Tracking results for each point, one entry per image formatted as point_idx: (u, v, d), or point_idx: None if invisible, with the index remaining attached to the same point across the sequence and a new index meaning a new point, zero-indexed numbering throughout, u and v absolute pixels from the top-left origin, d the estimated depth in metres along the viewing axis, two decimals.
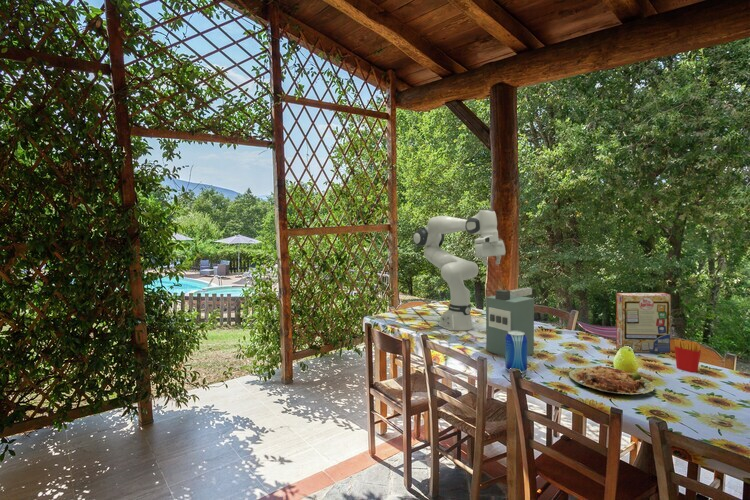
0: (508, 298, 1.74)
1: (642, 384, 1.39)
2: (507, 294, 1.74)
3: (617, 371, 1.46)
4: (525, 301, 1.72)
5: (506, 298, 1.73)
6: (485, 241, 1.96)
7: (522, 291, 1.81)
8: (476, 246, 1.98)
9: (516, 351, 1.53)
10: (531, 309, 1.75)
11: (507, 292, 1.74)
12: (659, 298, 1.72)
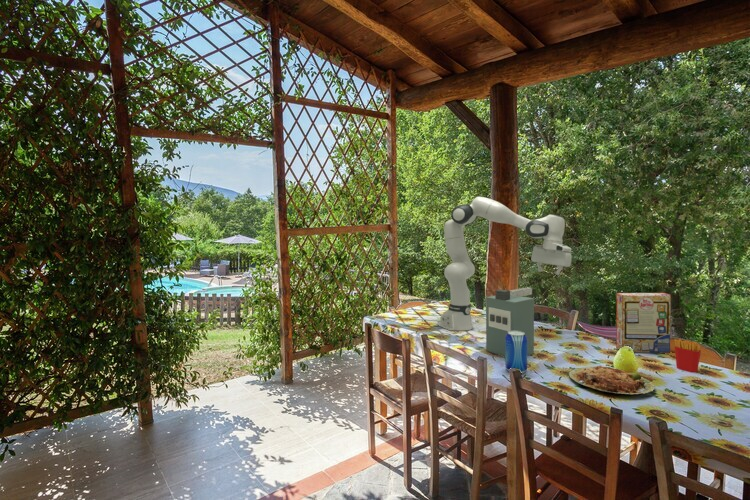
0: (508, 298, 1.74)
1: (642, 384, 1.39)
2: (507, 294, 1.74)
3: (617, 371, 1.46)
4: (525, 301, 1.72)
5: (506, 298, 1.73)
6: None
7: (522, 291, 1.81)
8: (567, 255, 1.87)
9: (516, 351, 1.53)
10: (531, 309, 1.75)
11: (507, 292, 1.74)
12: (659, 298, 1.72)
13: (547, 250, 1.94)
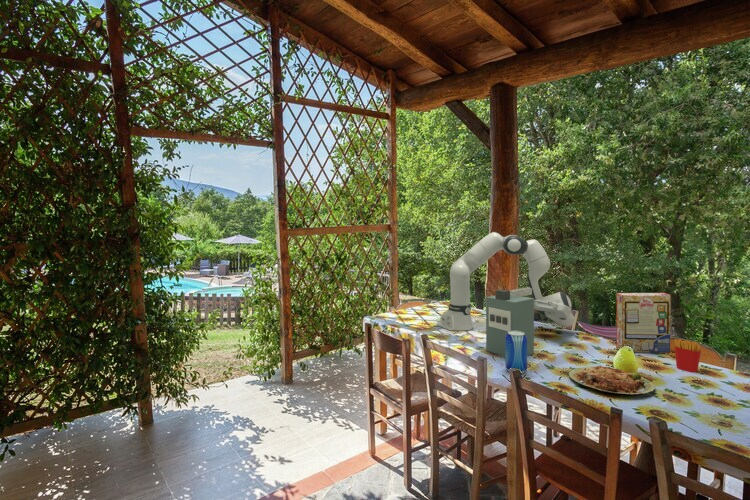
0: (508, 298, 1.74)
1: (642, 384, 1.39)
2: (507, 294, 1.74)
3: (617, 371, 1.46)
4: (525, 301, 1.72)
5: (506, 298, 1.73)
6: (564, 318, 1.92)
7: (522, 291, 1.81)
8: (569, 309, 1.90)
9: (516, 351, 1.53)
10: (531, 309, 1.75)
11: (507, 292, 1.74)
12: (659, 298, 1.72)
13: None
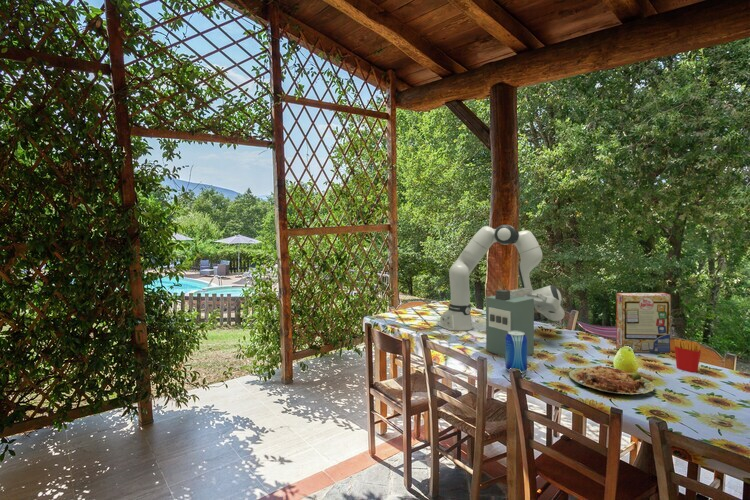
0: (508, 298, 1.74)
1: (642, 384, 1.39)
2: (507, 294, 1.74)
3: (617, 371, 1.46)
4: (525, 301, 1.72)
5: (506, 298, 1.73)
6: (553, 311, 1.87)
7: (522, 291, 1.81)
8: (558, 302, 1.85)
9: (516, 351, 1.53)
10: (531, 309, 1.75)
11: (507, 292, 1.74)
12: (659, 298, 1.72)
13: None
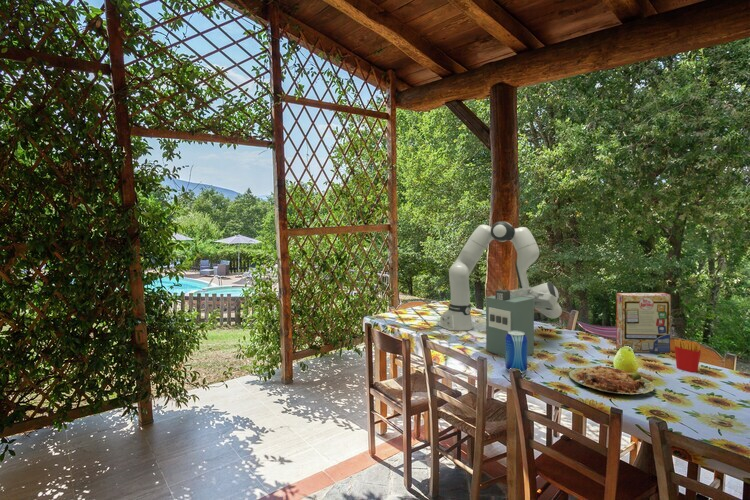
0: (508, 298, 1.74)
1: (642, 384, 1.39)
2: (507, 294, 1.74)
3: (617, 371, 1.46)
4: (525, 301, 1.72)
5: (506, 298, 1.73)
6: (550, 308, 1.85)
7: (522, 291, 1.82)
8: (555, 299, 1.83)
9: (517, 351, 1.53)
10: (531, 309, 1.75)
11: (507, 292, 1.74)
12: (659, 298, 1.72)
13: None
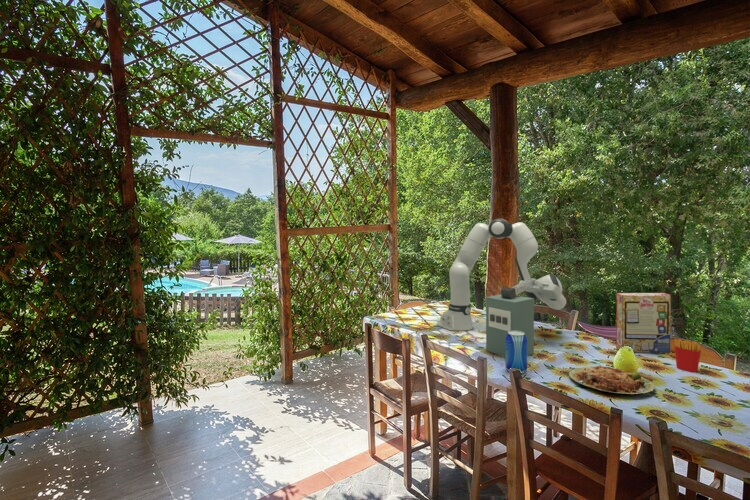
0: (514, 296, 1.77)
1: (642, 384, 1.39)
2: (512, 292, 1.76)
3: (617, 371, 1.46)
4: (525, 301, 1.72)
5: (512, 296, 1.76)
6: (555, 299, 1.87)
7: (527, 284, 1.83)
8: (560, 290, 1.85)
9: (517, 351, 1.53)
10: (531, 309, 1.75)
11: (512, 290, 1.76)
12: (659, 298, 1.72)
13: None
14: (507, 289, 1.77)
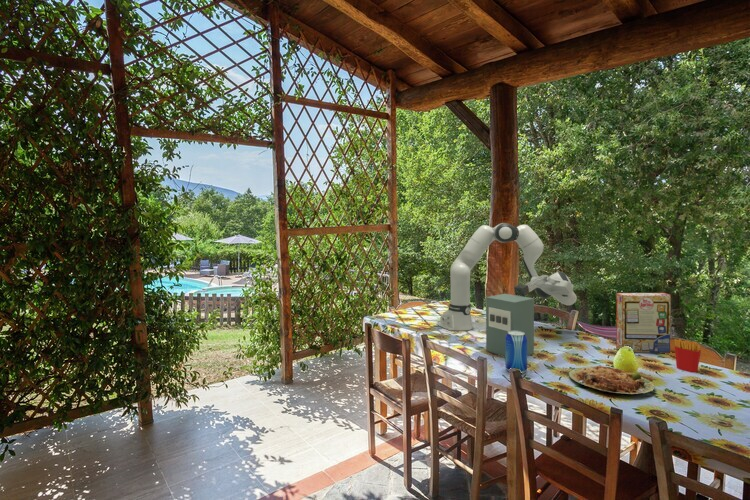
0: (527, 293, 1.82)
1: (642, 384, 1.39)
2: (526, 289, 1.82)
3: (617, 371, 1.46)
4: (525, 301, 1.72)
5: (525, 293, 1.81)
6: (566, 295, 1.92)
7: (539, 281, 1.89)
8: (571, 286, 1.90)
9: (516, 351, 1.53)
10: (531, 309, 1.75)
11: (526, 287, 1.81)
12: (659, 298, 1.72)
13: None
14: (520, 286, 1.83)
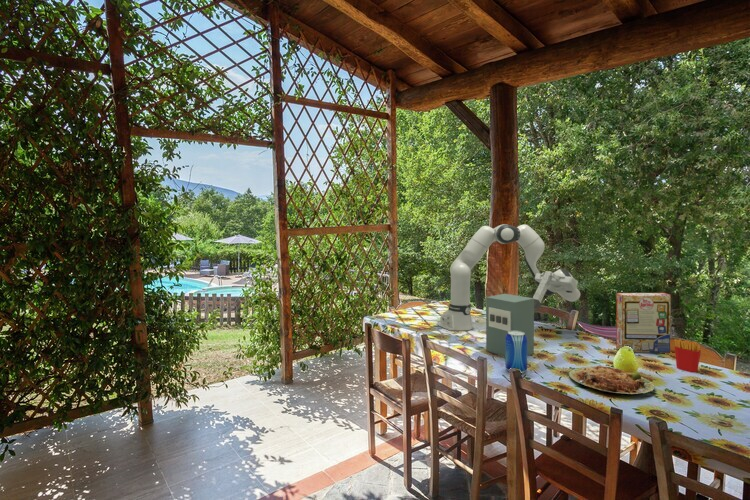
0: (540, 305, 1.88)
1: (642, 384, 1.39)
2: (537, 304, 1.87)
3: (617, 371, 1.46)
4: (525, 301, 1.72)
5: (538, 307, 1.88)
6: (571, 291, 1.95)
7: (546, 284, 1.92)
8: (575, 282, 1.92)
9: (517, 351, 1.53)
10: (531, 309, 1.75)
11: (537, 303, 1.87)
12: (659, 298, 1.72)
13: None
14: None
